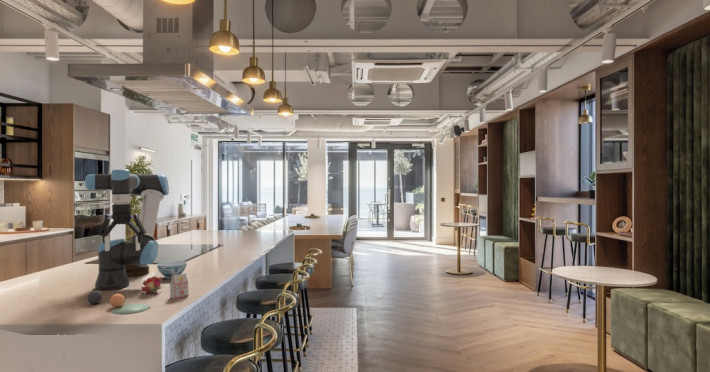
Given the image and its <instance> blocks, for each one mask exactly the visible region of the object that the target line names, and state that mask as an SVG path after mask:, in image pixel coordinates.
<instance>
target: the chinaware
mask: <svg viewBox="0 0 710 372" xmlns="http://www.w3.org/2000/svg"><path fill="white" fill-rule="evenodd" d="M187 263H188V262H187V261H185V260H169V261H162V262H159V263H157V264H156V266H157V269H158V270H157V271H158V272H159V273H160V274H161V275H162V276H164V277H165V279H168V280H171V279H172V276H175V275H180V274H184V273H183V272H184V271H185V270H186V267H187Z"/></svg>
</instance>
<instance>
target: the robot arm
mask: <svg viewBox="0 0 710 372" xmlns="http://www.w3.org/2000/svg"><path fill="white" fill-rule="evenodd" d="M84 184H85V185H84V186H85V188H86V189H87V190H89V191H108V192H110V191H111V203H112V205H111V211H112V214H109V213H108V214H105V215H104V220H103V222H102V225H101V227H100V228H99V231H98V234H97V235H98V236H100V237H101V236H102V242H100V243H99V244H98V247H97V248H98V251H97V255H98V258H97V259H98V261H97V262H98V274H97V277H96V281H95V283H94V288H95V289H96V291H98V290H99V291H112V290H118V289H122V288H127V287H128V286H129V285H130V278H129V277H128V276H127V274H126V271H125V265H145V264H149V265H152V264H153V263H154V262H155V261H156V259H157V257H158V254H159V243H158V241H156V238H155V237H154V235H155V230H156V229H155V228H156V224H157V220H158V219H157V218H158V214H159V210H160V209H159V208H160V203H161V201H163V200H164V197H165V196H168V195H169V193H170V187H169V180H168V178H167V176H166V175H165V174H161V173H160V174H159V173H157V174H134V173H131V172H130V169H128V168H127V169H125V168H124V169H123V168H121V169H112V170H111V172H110V173H99V174H98V173H92V174H91V173H90V174H89V173H88V174H87V175H86V176H85V180H84ZM131 196H138V197H139V196H140V197H141V198H142V202H141V207H140V211H139V213H135V214H132V208H131V207H132V205H131V202H132V201H131V200H132V198H131ZM111 219H112V222H111V223H110V221H111ZM131 219H133V220H134V223H135V224H134V223H133V221H132V220H131ZM109 223H110V225H109ZM108 225H109V226H108ZM116 225H127V226H128V227H129V228H130V229H131V230H132V231H133V232H134V233H135V234H133V235H131V236H132V237H131V236H130V240H131V241H130V240H129V241H130V242H127V241H126V240H125V239H124V238H117V239H112V240H110V235H109V234H110V233H111V232H112V230H113V229H114V228H115V226H116Z"/></svg>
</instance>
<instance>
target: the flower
mask: <svg viewBox="0 0 710 372" xmlns="http://www.w3.org/2000/svg"><path fill="white" fill-rule="evenodd" d="M161 283H162V277H161V276H156V275H153V276H151V277H148V278H147V279H146V280H143V281H142V285H143V286H141V291H144V292H145V293H147V294H150V293H153V292H154V294H158V291H159V290H161V289H162V288H163V286H162V287H161V285H162V284H161Z"/></svg>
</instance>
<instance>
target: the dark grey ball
mask: <svg viewBox="0 0 710 372" xmlns="http://www.w3.org/2000/svg"><path fill="white" fill-rule="evenodd" d="M102 295H103V294H102V293H101V292H100V291H98V290H92V291H90V292H89V293H88V294H87V296H86V299H87V302H88V303H89V304H91V305H95V304H98V303H100V302H101V301H102V298H103V296H102Z"/></svg>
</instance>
